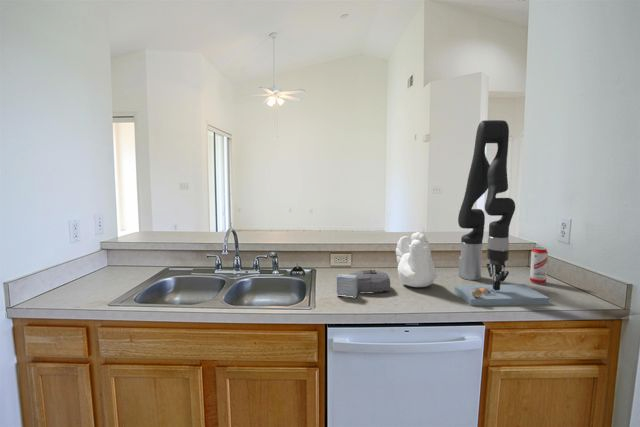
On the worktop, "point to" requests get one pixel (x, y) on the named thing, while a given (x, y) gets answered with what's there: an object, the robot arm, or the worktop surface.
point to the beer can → (538, 265)
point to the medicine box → (347, 285)
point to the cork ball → (476, 293)
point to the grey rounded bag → (372, 281)
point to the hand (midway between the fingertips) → (496, 289)
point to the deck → (502, 295)
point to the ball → (484, 291)
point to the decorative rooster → (415, 261)
